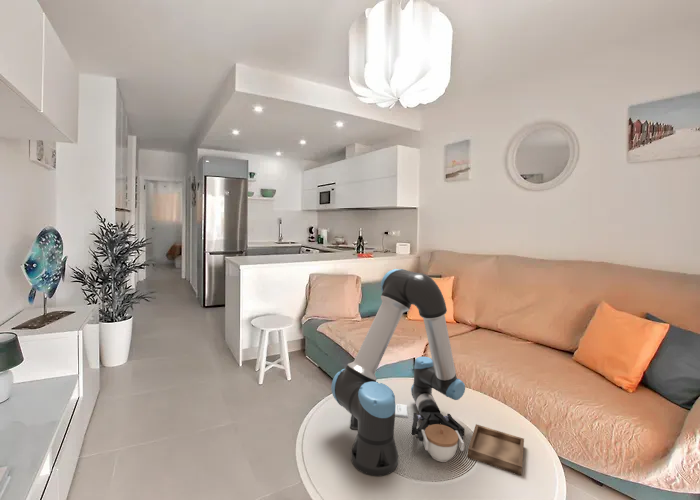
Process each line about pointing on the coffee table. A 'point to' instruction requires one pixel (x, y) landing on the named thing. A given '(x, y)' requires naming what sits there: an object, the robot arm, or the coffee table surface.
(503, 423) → the coffee table surface
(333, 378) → the robot arm
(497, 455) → the walnut tray
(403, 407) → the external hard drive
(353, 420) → the phone
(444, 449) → the lidded jar
